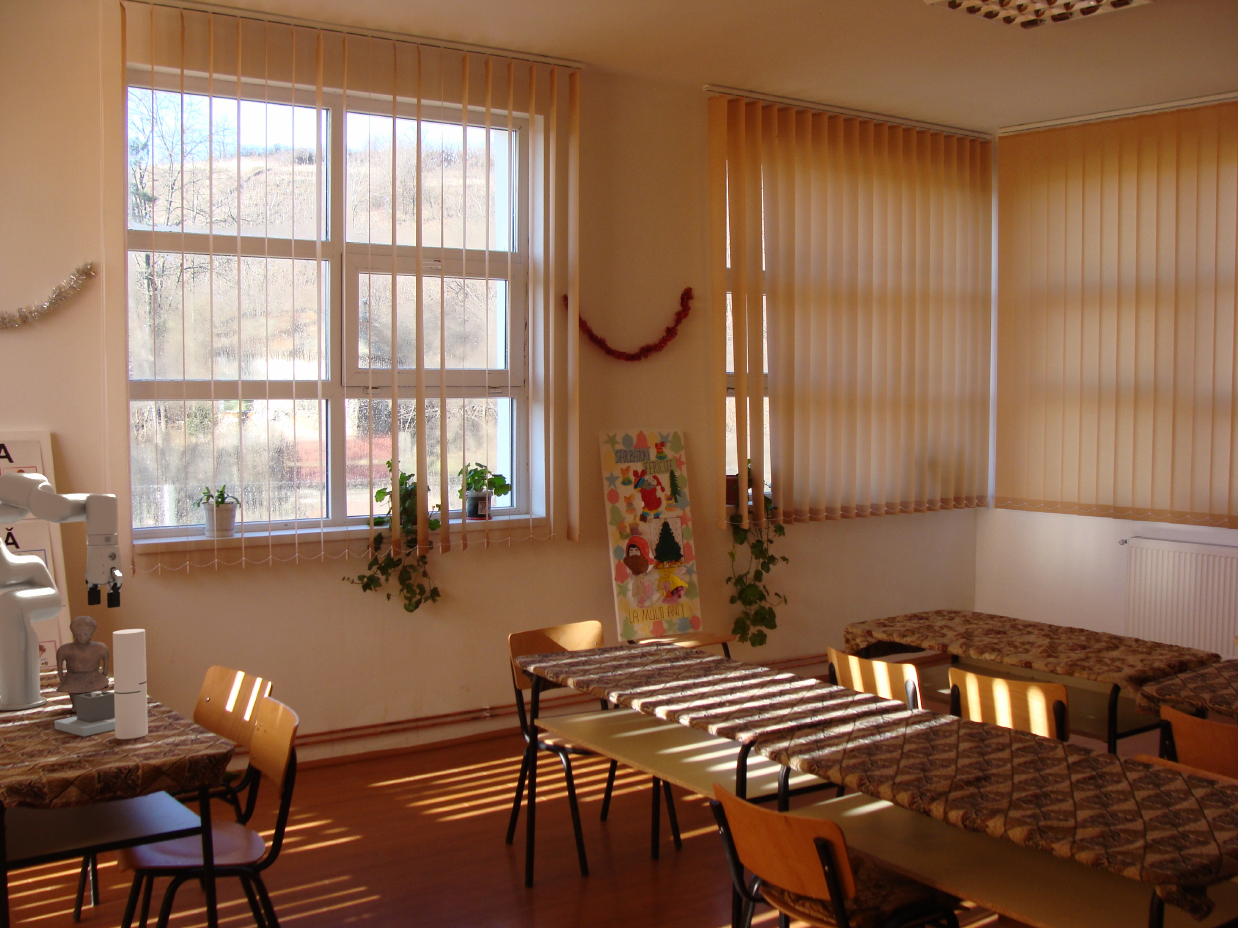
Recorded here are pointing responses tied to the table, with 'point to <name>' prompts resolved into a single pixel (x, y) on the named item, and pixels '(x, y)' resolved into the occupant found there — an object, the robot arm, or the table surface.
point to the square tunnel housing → (95, 707)
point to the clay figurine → (82, 661)
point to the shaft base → (85, 724)
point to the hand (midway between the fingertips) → (104, 605)
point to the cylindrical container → (130, 683)
